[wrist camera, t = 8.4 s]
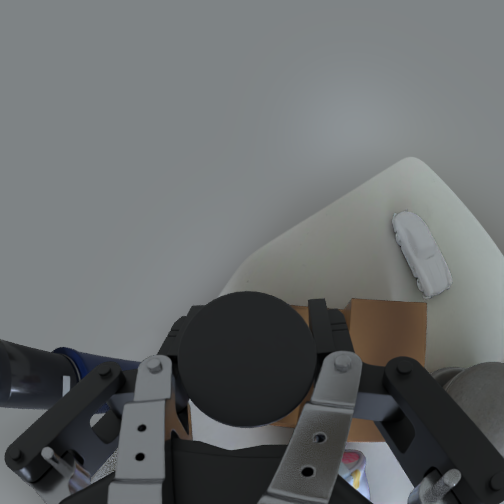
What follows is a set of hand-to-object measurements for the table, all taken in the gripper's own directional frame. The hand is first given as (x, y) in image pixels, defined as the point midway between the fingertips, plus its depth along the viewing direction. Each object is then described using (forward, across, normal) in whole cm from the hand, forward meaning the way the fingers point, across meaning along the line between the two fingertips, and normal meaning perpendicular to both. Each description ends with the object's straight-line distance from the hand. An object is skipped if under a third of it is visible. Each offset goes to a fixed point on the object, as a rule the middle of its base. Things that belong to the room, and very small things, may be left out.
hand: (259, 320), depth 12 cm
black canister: (+2, 0, +5) cm, 5 cm away
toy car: (+22, -18, +7) cm, 29 cm away
